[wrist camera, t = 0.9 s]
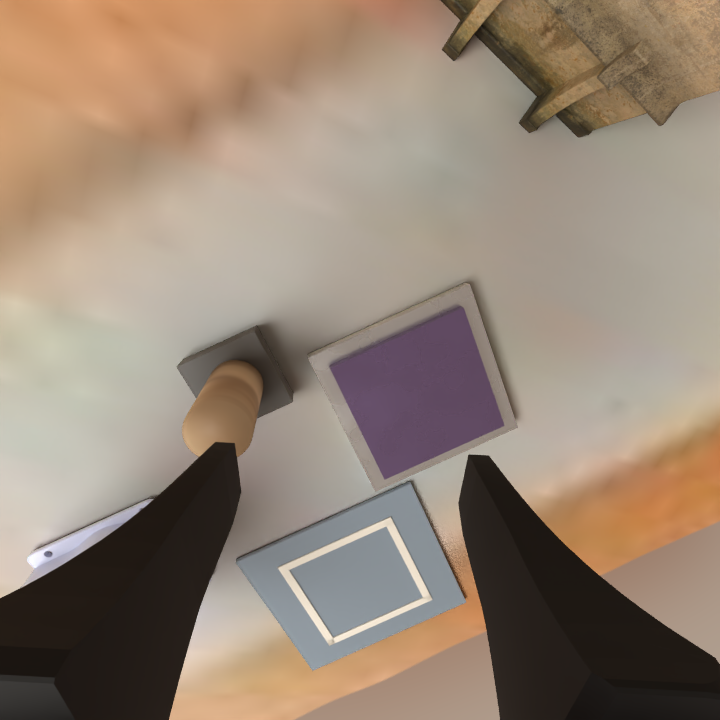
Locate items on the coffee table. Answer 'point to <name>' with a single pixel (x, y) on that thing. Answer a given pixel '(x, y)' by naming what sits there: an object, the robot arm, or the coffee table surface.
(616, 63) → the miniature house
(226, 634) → the coffee table surface
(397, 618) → the marked board
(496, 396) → the ink pad
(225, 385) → the wooden stamp
